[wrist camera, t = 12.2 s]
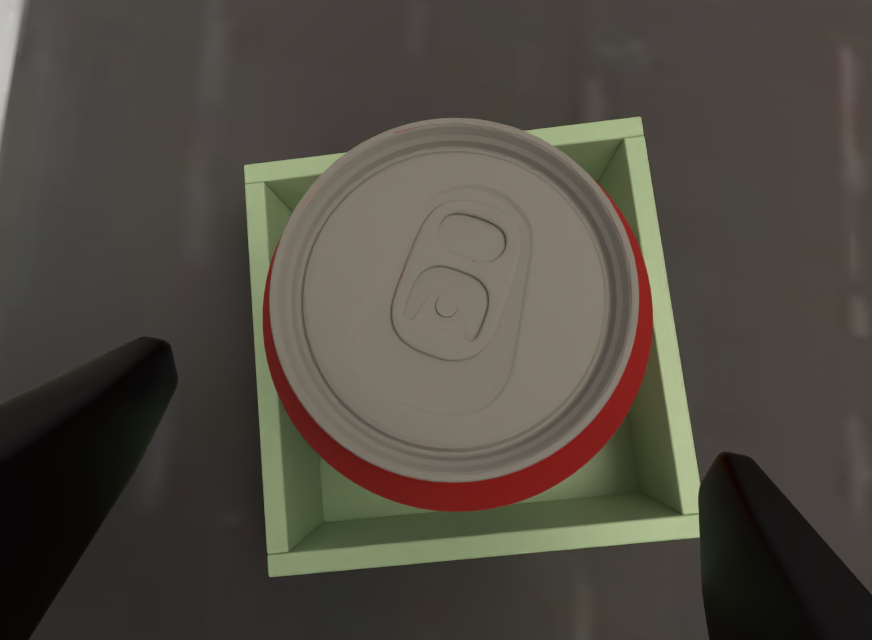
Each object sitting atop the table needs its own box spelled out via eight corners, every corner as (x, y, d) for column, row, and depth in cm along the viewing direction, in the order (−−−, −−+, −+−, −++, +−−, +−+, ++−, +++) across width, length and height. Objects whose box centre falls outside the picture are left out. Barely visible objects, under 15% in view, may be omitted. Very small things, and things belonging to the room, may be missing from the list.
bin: (655, 506, 20) (709, 536, 15) (312, 538, 20) (267, 577, 16) (605, 174, 21) (641, 115, 17) (289, 212, 22) (243, 164, 17)
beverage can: (336, 414, 20) (147, 434, 8) (404, 233, 21) (319, 18, 9) (523, 485, 20) (605, 615, 8) (587, 296, 20) (752, 150, 8)
